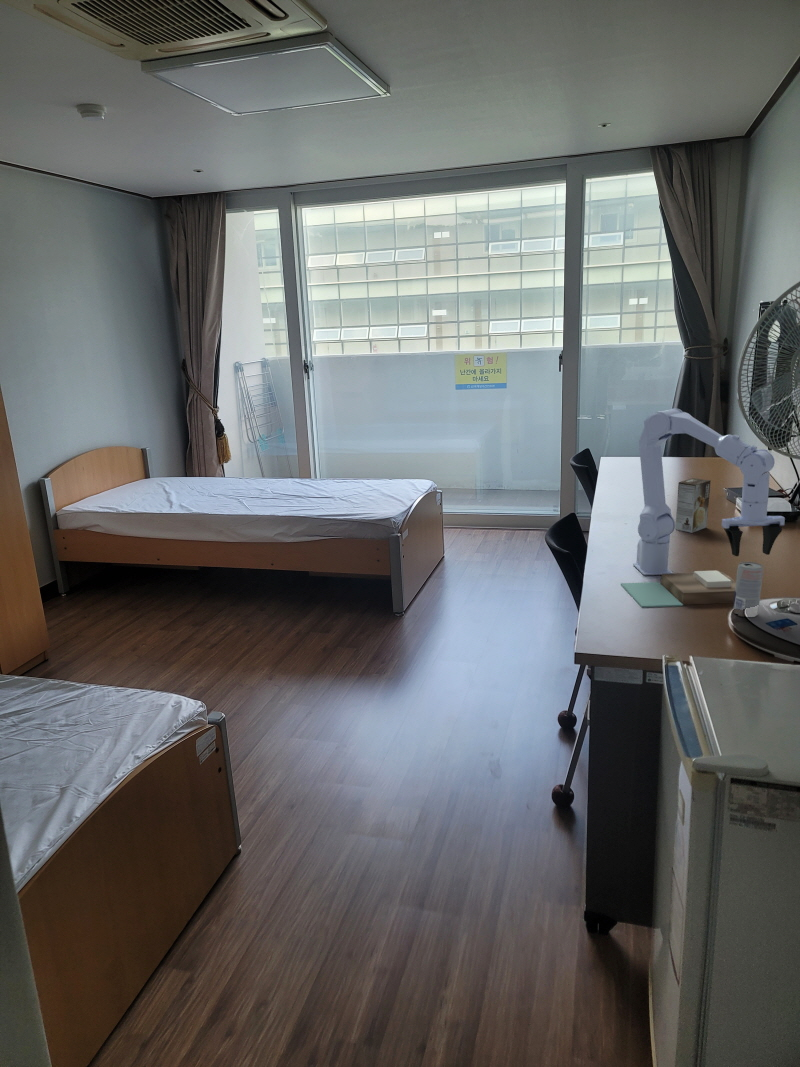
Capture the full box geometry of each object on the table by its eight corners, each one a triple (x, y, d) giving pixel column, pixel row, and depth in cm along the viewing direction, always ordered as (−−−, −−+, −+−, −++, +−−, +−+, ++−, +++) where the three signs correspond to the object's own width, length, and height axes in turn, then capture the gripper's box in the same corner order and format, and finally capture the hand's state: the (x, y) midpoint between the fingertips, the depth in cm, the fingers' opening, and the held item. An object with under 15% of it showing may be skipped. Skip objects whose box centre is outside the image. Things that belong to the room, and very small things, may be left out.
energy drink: (750, 609, 172) (756, 561, 169) (762, 617, 167) (768, 568, 163) (728, 609, 172) (733, 561, 168) (739, 618, 167) (745, 569, 163)
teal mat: (620, 584, 190) (620, 583, 190) (658, 583, 190) (658, 582, 190) (641, 607, 175) (641, 605, 175) (682, 606, 175) (682, 604, 175)
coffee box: (689, 524, 244) (693, 477, 239) (707, 527, 239) (711, 480, 235) (674, 529, 238) (678, 481, 234) (692, 533, 234) (696, 484, 229)
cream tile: (693, 576, 186) (693, 571, 185) (716, 575, 186) (716, 570, 185) (706, 587, 178) (707, 581, 178) (730, 586, 178) (731, 581, 178)
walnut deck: (660, 584, 189) (661, 573, 188) (721, 582, 189) (722, 571, 189) (682, 604, 176) (683, 592, 175) (747, 602, 176) (748, 590, 175)
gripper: (732, 505, 172) (728, 560, 175) (793, 502, 172) (788, 557, 175) (719, 499, 179) (716, 552, 182) (777, 496, 179) (773, 549, 182)
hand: (750, 554), depth 179 cm, fingers open, 7 cm apart
